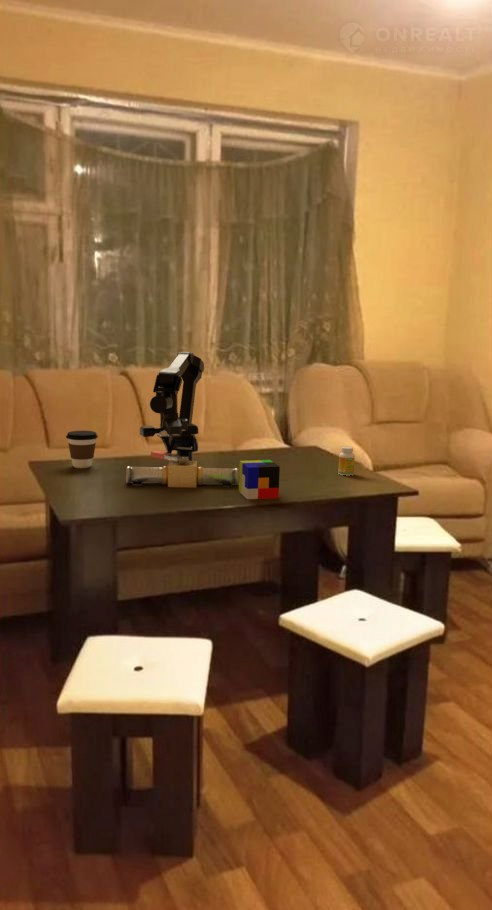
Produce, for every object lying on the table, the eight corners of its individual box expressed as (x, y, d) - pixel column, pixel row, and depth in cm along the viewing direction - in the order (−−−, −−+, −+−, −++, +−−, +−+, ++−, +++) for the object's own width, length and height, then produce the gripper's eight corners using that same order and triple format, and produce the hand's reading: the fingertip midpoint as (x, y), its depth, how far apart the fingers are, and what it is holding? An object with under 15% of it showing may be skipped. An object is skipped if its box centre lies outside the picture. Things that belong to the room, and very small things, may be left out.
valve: (127, 480, 261) (127, 458, 260) (237, 482, 263) (237, 460, 262) (125, 486, 253) (125, 464, 252) (238, 488, 255) (238, 466, 254)
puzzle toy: (247, 499, 242) (248, 467, 240) (238, 491, 251) (239, 460, 249) (278, 498, 245) (279, 466, 243) (269, 490, 254) (270, 459, 252)
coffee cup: (91, 470, 275) (91, 436, 272) (61, 468, 276) (61, 434, 274) (102, 464, 285) (102, 431, 283) (73, 462, 287) (72, 429, 285)
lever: (190, 462, 257) (190, 457, 257) (182, 463, 254) (182, 458, 254) (158, 455, 267) (158, 450, 267) (150, 456, 264) (150, 451, 264)
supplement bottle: (346, 476, 276) (347, 449, 274) (335, 473, 280) (336, 446, 279) (356, 475, 280) (358, 447, 278) (345, 472, 284) (347, 445, 282)
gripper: (146, 413, 251) (147, 462, 254) (203, 411, 258) (203, 458, 261) (138, 409, 261) (139, 455, 264) (193, 406, 268) (193, 452, 271)
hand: (169, 455), depth 265 cm, fingers closed
